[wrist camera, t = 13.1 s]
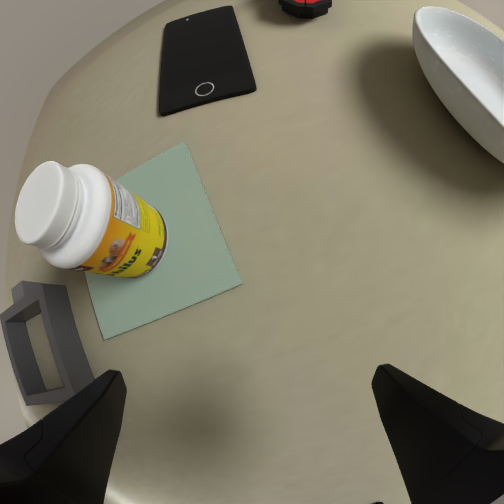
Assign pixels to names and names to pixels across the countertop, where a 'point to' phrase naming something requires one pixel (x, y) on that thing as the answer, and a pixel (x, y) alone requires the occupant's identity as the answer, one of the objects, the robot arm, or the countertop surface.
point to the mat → (168, 249)
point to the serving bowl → (464, 71)
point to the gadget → (306, 7)
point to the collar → (60, 338)
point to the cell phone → (203, 61)
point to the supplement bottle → (89, 222)
